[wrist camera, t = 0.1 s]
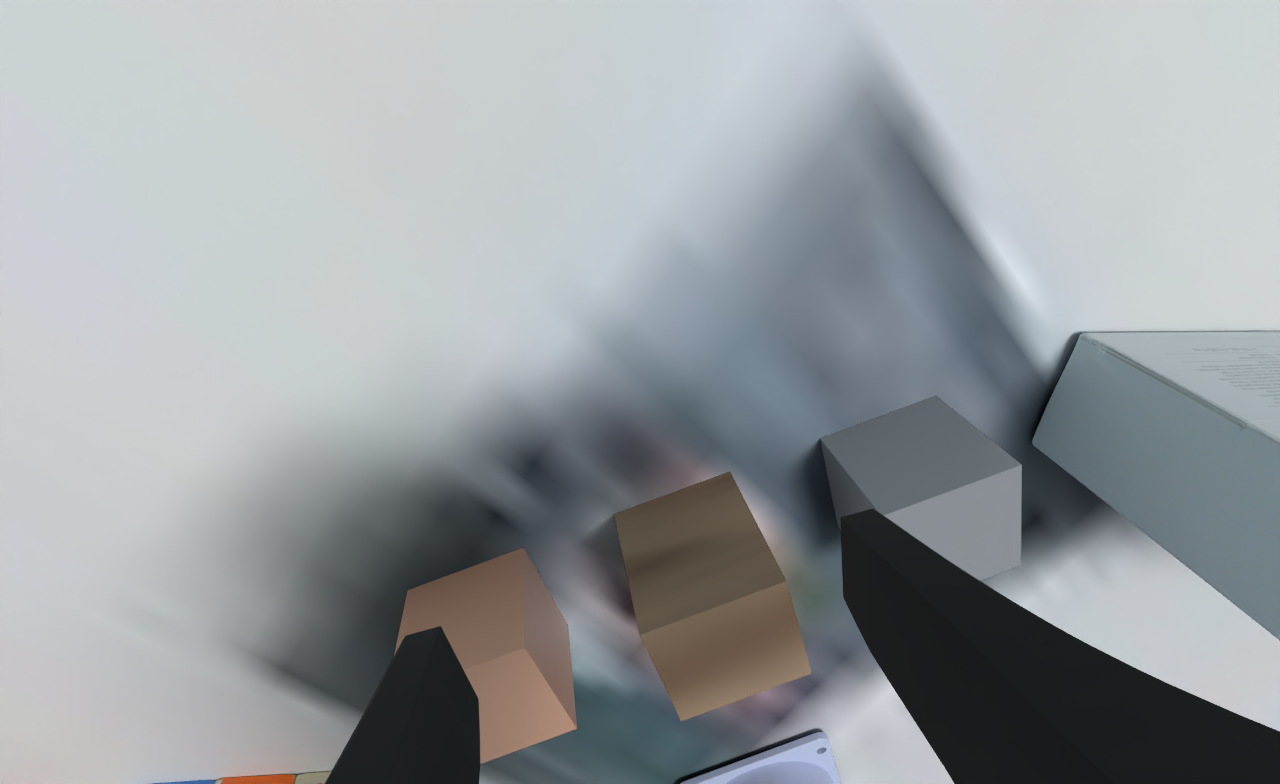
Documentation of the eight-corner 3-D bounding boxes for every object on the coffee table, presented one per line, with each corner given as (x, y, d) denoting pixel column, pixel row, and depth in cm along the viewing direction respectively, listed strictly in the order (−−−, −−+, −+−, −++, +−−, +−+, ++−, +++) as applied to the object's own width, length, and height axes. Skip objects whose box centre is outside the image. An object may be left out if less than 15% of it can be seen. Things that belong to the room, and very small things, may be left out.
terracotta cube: (567, 623, 25) (577, 728, 21) (462, 662, 25) (452, 774, 21) (523, 545, 23) (524, 647, 19) (407, 588, 23) (385, 698, 19)
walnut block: (755, 555, 25) (811, 673, 20) (649, 594, 25) (681, 721, 20) (729, 470, 23) (786, 581, 18) (613, 513, 23) (639, 635, 18)
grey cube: (942, 485, 25) (1021, 565, 21) (836, 524, 25) (896, 611, 21) (934, 394, 23) (1021, 464, 19) (819, 437, 23) (881, 516, 19)
